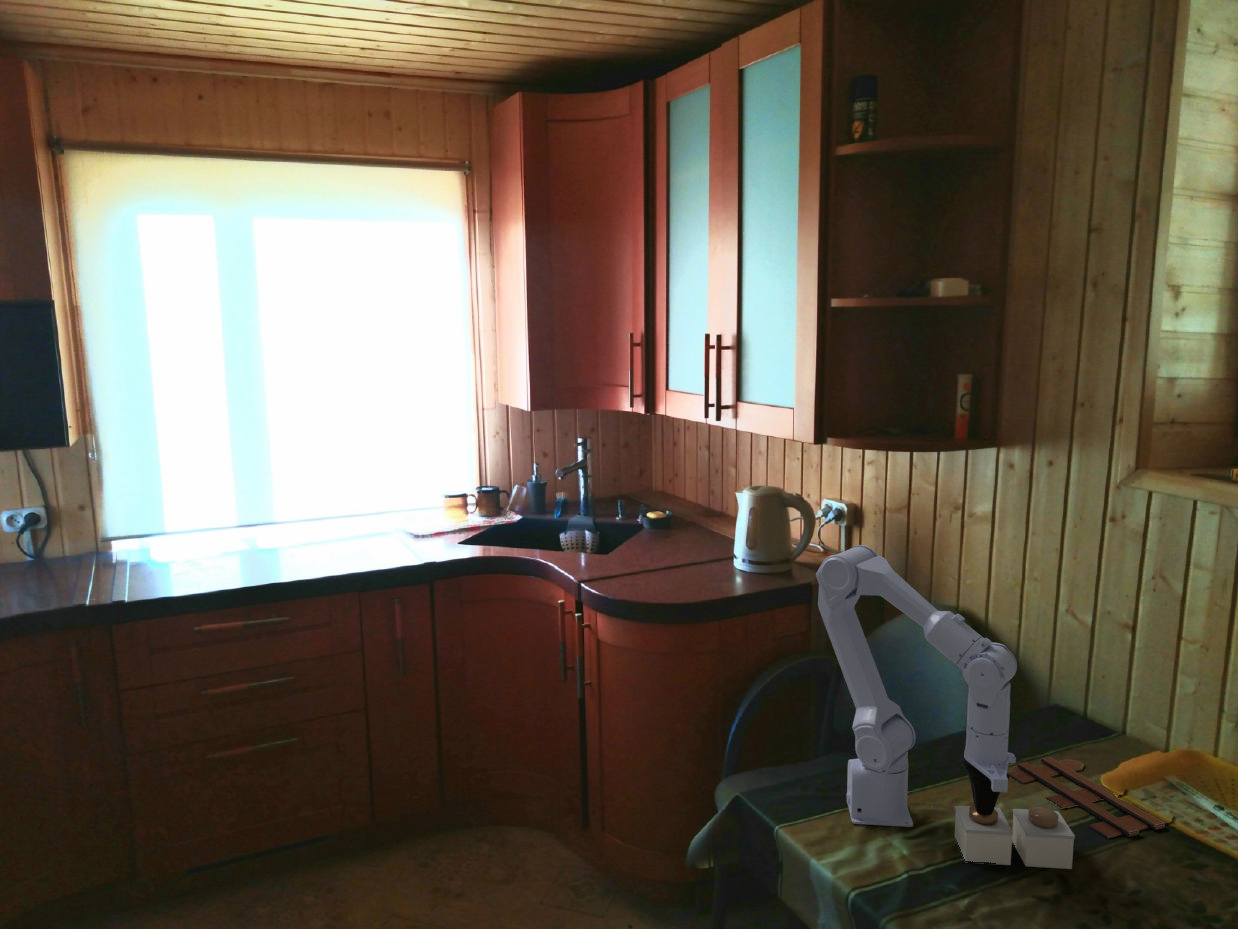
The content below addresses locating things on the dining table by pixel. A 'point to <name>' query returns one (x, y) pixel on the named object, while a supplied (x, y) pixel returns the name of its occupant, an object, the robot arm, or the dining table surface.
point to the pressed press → (1042, 838)
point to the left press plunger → (983, 817)
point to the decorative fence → (1087, 797)
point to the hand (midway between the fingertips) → (983, 812)
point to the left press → (983, 838)
